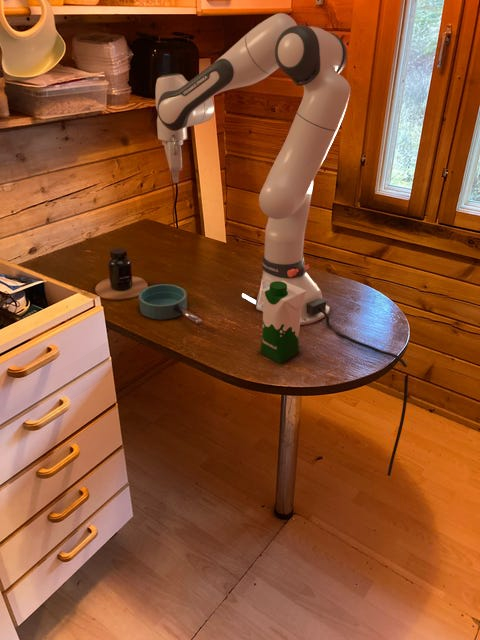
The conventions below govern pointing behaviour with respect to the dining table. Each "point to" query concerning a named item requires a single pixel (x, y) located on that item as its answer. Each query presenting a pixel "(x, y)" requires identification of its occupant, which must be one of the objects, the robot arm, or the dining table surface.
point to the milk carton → (281, 320)
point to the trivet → (108, 293)
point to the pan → (162, 301)
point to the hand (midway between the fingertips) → (174, 178)
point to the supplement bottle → (120, 270)
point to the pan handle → (188, 315)
